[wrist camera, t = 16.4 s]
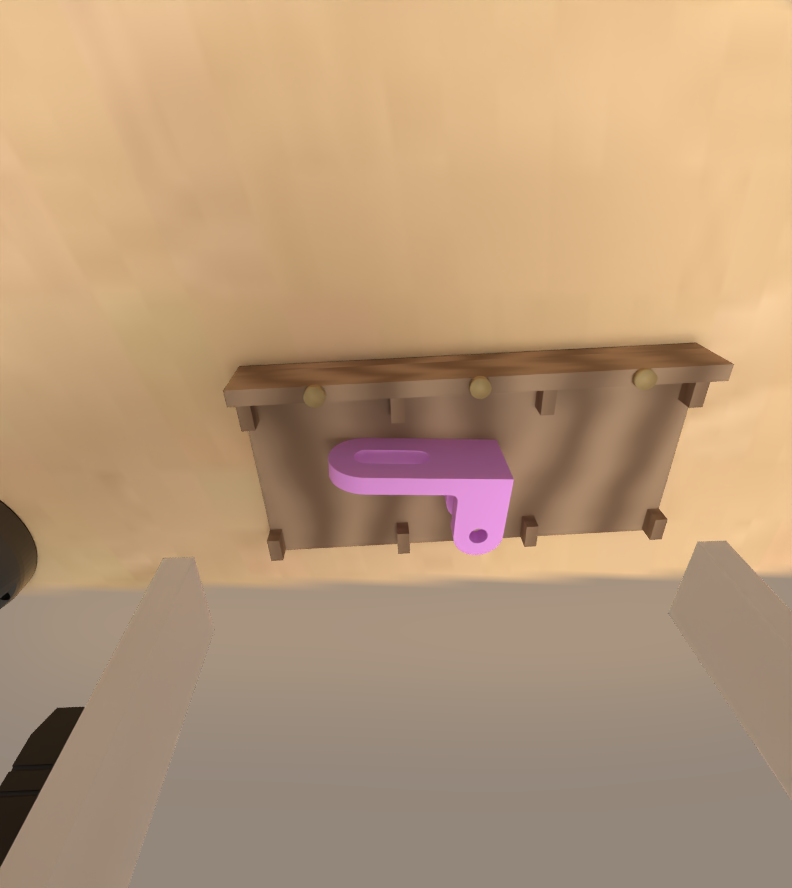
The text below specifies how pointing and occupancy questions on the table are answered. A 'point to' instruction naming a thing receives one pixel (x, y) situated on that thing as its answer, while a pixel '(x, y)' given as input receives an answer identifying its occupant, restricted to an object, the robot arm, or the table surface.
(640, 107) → the table surface
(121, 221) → the table surface
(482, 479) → the bracket
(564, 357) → the ledge
